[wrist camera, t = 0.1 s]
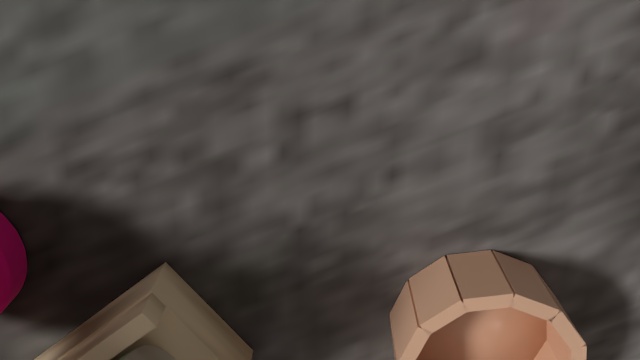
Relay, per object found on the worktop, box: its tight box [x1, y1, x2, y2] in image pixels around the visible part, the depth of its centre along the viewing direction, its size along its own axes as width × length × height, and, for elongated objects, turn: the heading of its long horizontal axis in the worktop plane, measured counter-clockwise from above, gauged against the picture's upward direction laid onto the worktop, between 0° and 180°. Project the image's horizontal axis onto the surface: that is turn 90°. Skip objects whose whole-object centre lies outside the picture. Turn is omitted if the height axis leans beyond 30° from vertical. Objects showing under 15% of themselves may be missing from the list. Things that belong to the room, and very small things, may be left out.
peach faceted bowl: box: [389, 250, 587, 360], centre depth 26 cm, size 8×8×4 cm
